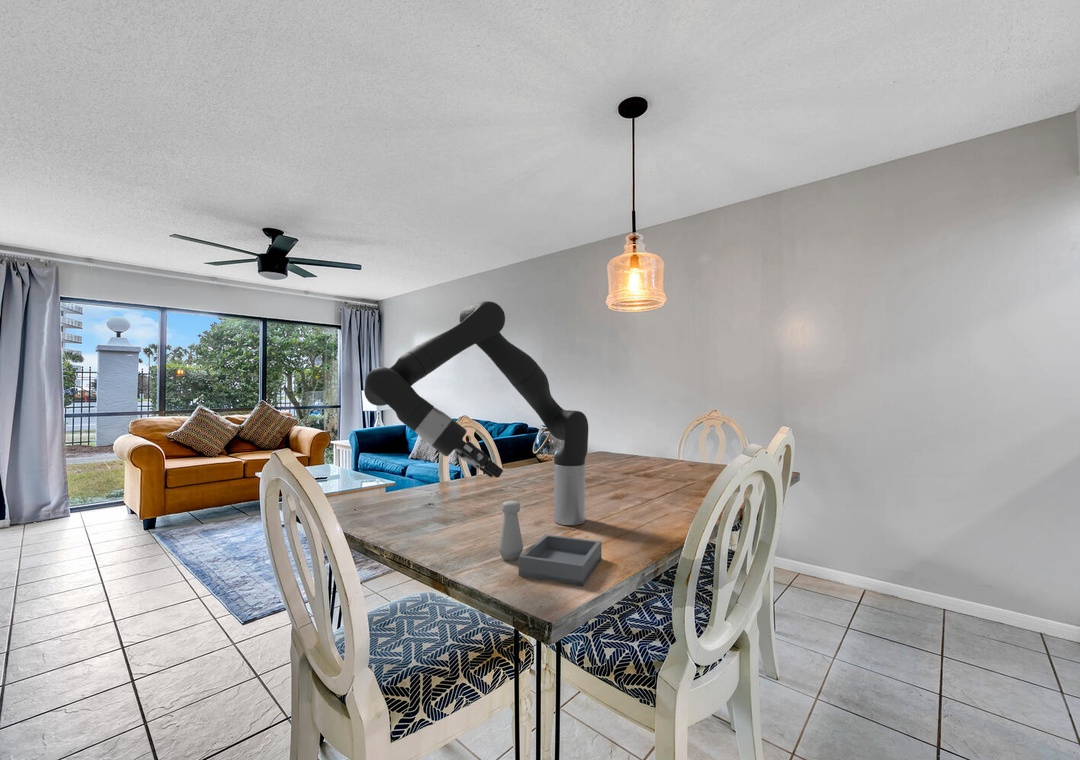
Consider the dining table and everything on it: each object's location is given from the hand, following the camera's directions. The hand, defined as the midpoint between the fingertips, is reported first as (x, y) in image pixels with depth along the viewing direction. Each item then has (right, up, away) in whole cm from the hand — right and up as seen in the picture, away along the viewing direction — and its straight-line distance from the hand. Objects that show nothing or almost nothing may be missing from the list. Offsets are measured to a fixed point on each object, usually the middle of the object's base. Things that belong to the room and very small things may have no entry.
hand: (497, 474), depth 103 cm
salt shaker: (+3, -20, +2) cm, 20 cm away
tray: (+15, -20, -4) cm, 25 cm away
